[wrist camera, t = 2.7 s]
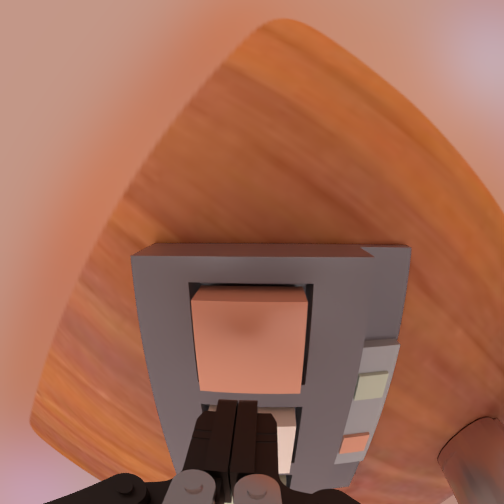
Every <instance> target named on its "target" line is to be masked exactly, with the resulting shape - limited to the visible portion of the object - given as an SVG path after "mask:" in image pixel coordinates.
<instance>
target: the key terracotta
mask: <svg viewBox="0 0 504 504" xmlns="http://www.w3.org/2000/svg"><path fill="white" fill-rule="evenodd" d="M191 307H192V319H193V330H194V341H195V350H196V360H197V368H198V377H199V385H200V391H212V392H227V393H251V394H300V390H301V381H302V371H303V360H304V349H305V337H306V324H307V309H308V301H307V298H306V295H305V292H304V289H303V286H298V287H285V286H208V285H201V286H200V288H199V289H198V291H197V292H196V294H195V295H194V297H193V298H192V300H191Z"/></svg>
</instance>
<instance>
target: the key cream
mask: <svg viewBox="0 0 504 504" xmlns="http://www.w3.org/2000/svg"><path fill="white" fill-rule="evenodd" d="M216 408H217V405H210V406H209V410H208V411H216ZM258 413H271V414H272V415H273V417H274V419H275V420H276V422H277V437H278V471H279V474H282V473H290V466H291V460H292V453H293V446H294V439H295V432H296V419H295V409H294V407H258Z"/></svg>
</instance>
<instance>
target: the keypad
mask: <svg viewBox="0 0 504 504" xmlns="http://www.w3.org/2000/svg"><path fill="white" fill-rule="evenodd" d="M410 257H411V247H409V246H407V245H377V244H274V243H154V244H152V245H151V246H149V247H147V248H145V249H143V250H141V251H139V252H137V253H135V254H133V255H131V264H132V274H133V283H134V291H135V299H136V306H137V313H138V319H139V326H140V332H141V338H142V343H143V349H144V354H145V359H146V364H147V369H148V373H149V378H150V382H151V387H152V391H153V395H154V399H155V403H156V407H157V411H158V415H159V419H160V422H161V426H162V429H163V433H164V436H165V440H166V443H167V446H168V450H169V453H170V456H171V459H172V462H173V465H174V468H175V471H176V474H178V473H180V472H181V471H182V469H183V466H184V463H185V459H186V456H187V452H188V448H189V445H190V441H191V439H192V434H193V431H194V427H195V424H196V420H197V418H198V417H199V416H200V415H201V414H202V413H203V412H204V411H208V410H209V406H210V405H217V403H218V400H219V399H227V400H238V402H239V400H258V407H294V409H295V419H296V432H295V439H294V446H293V453H292V460H291V466H290V473H282V474H279V475H286V486H287V487H288V488H290V489H292V490H295V491H299V492H304V493H310V494H313V493H314V492H316V491H319V490H322V489H331V488H340V487H347V486H349V485H350V482H351V480H352V478H353V476H354V474H355V471H356V469H357V467H358V464H359V462H360V461H363V460H364V457H365V455H366V452H367V450H368V447H369V445H370V442H371V440H372V437H373V434H374V432H375V429H376V426H377V423H378V421H379V418H380V415H381V412H382V409H383V406H384V403H385V399H386V396H387V393H388V390H389V386H390V383H391V379H392V376H393V372H394V368H395V364H396V360H397V356H398V352H399V348H400V343H399V342H398V341H397V339H398V334H399V330H400V325H401V319H402V314H403V308H404V302H405V296H406V289H407V282H408V275H409V266H410ZM201 285H208V286H285V287H298V286H303V289H304V292H305V295H306V298H307V301H308V309H307V324H306V337H305V349H304V360H303V371H302V381H301V390H300V394H251V393H227V392H212V391H200V385H199V377H198V368H197V360H196V350H195V341H194V330H193V319H192V307H191V300H192V298H193V297H194V295H195V294H196V292H197V291H198V289H199V288H200V286H201Z"/></svg>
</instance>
